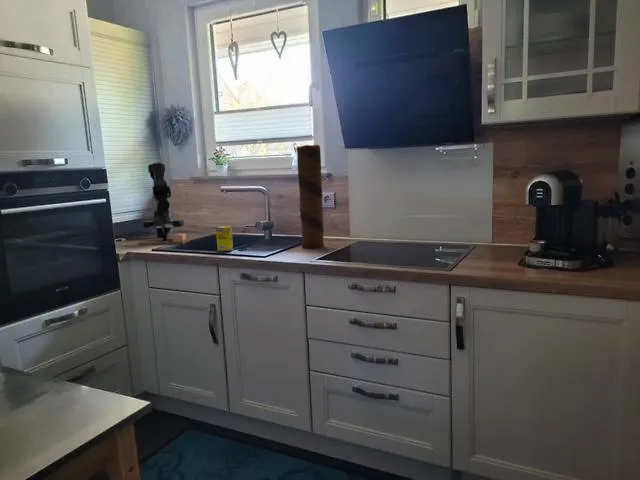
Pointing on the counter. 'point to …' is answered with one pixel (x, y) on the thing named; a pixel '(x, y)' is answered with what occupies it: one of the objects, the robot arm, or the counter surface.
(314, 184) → the wafer roll
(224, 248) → the supplement box
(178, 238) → the terracotta block
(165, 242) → the trap lane
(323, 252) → the counter surface
